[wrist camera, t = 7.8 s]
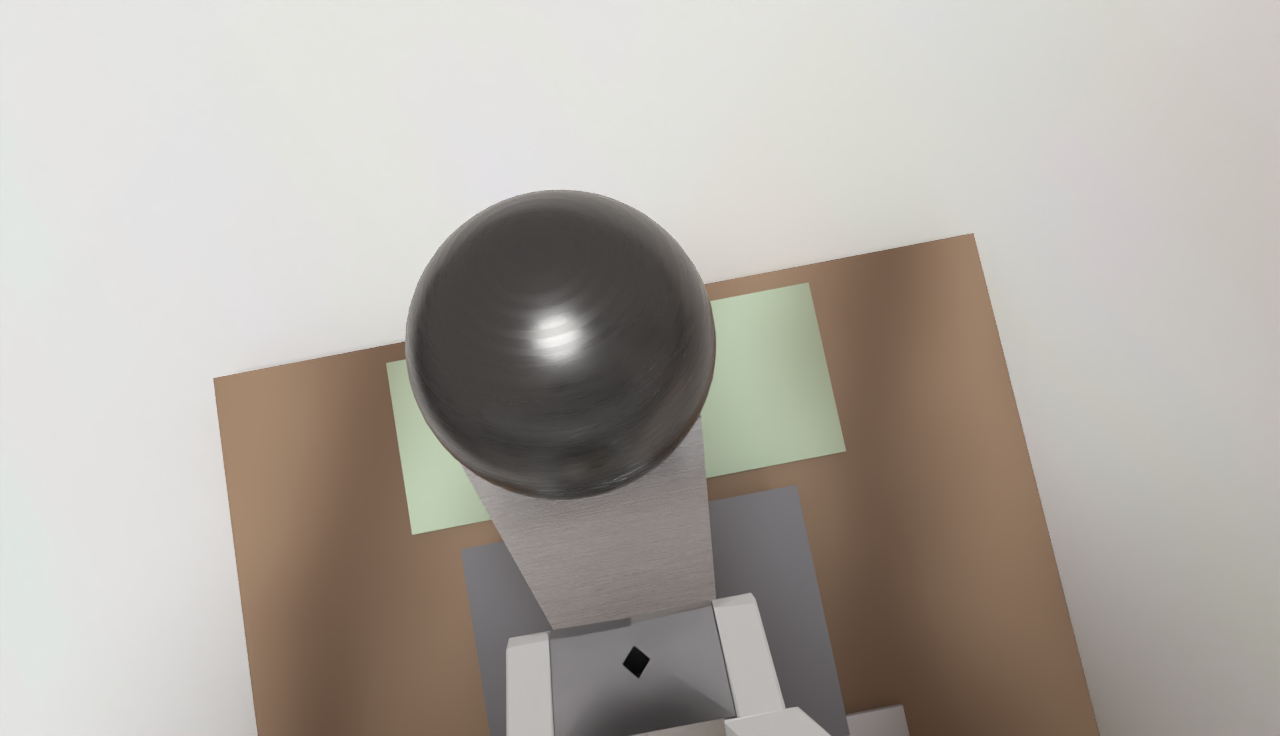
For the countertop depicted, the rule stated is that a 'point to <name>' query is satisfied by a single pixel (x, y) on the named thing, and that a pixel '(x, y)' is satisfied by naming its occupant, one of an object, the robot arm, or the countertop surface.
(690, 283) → the toggle lever
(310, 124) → the countertop surface
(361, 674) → the switch board
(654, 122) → the countertop surface
